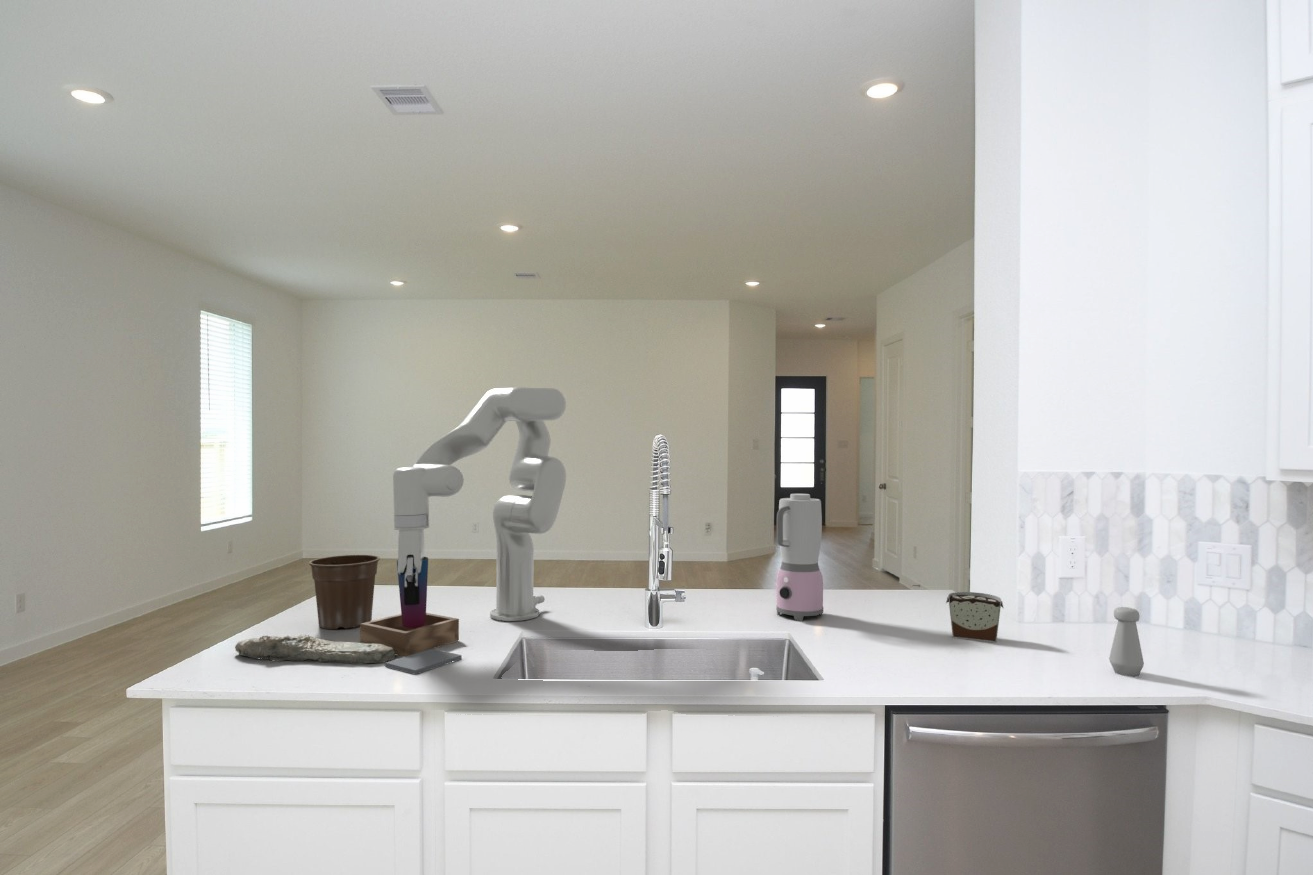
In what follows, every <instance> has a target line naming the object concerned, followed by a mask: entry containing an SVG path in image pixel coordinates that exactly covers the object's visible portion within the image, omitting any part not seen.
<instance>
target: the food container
mask: <svg viewBox="0 0 1313 875" xmlns="http://www.w3.org/2000/svg"><path fill="white" fill-rule="evenodd" d="M945 604H948V606H949V607H948V608H949V614H950V615H949V616H950V625H951V634H952V638H953V637H954V639H962V638H963V640H972V641H979V642H980V641H981V642H990V643H997V640H998V633H999V632H998V631H999V622H1000V617H1001V616H1000V615H1001V608H1002V609H1005V608H1004V604H1003V600H1002V598H1001V597H1000V596H997V595H993V594H991V593H989V594H988V593H984V592H983V593H982V592H975V591H974V592H973V591H972V592H971V591H954V592H951V593H948V596H947V597H946V602H945Z"/></svg>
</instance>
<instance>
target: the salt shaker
mask: <svg viewBox="0 0 1313 875" xmlns="http://www.w3.org/2000/svg"><path fill="white" fill-rule="evenodd" d="M1113 617H1114V619H1115V620H1117V625H1116V627H1115V632H1114V637H1113V641H1112V645H1111V649H1110V654H1109V657H1108V659H1109V663H1110V664H1111V666H1112V668H1113V672H1114V673H1115V674H1118V675H1121V676H1124V677H1133V678H1134V677H1137V676H1139V675H1140V673H1141V671H1142V670H1143V668H1144V665H1145V663H1144V658H1143V657H1144V656H1143V652H1142V647H1141V641H1140V638H1139V631H1138V627H1137V622H1139V620H1140V617H1141V616H1140V613H1139V611H1138V610H1137V609H1135V608H1132V607H1126V606H1119V607H1116V608H1114V610H1113Z"/></svg>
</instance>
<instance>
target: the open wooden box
mask: <svg viewBox="0 0 1313 875" xmlns="http://www.w3.org/2000/svg"><path fill="white" fill-rule="evenodd" d="M459 630H460V619H459V618H456V617H451V616H445V615H441V614H437V613H436V614H434V613H429V612H426V624H425V625H424V626H421V627H416V628H405V627H403V626H402V615H401V613H400V614H399V613H398V614H395V615H391V616H387V617H383V618H379V619H374V620H371V621H369V622H365V623H361V624H360V627H359V643H367V644H372V643H373V644H383V645H385V646H388V647H392V648H393V649H394V652H395V653H394V654H396V655H395V656H398V657H399V656H400V657H406V656H409V655H412V654H416V653H419V652H422V651H425V650H429V649H437V648H440V647H442V645H443V646H445V645H446V646H447V645H449V644H451V643H452V642H453V643H456V642H459V641H460V640H459V636H460V635H459V634H460V631H459ZM458 640H459V641H458ZM453 643H452V644H453Z"/></svg>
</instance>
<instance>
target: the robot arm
mask: <svg viewBox="0 0 1313 875" xmlns="http://www.w3.org/2000/svg"><path fill="white" fill-rule="evenodd" d="M566 403H567V402H566V399H565V396H564V394H563V393H562V391H560V390H559V389H556V388H555V387H522V386H521V387H520V386H514V387H510V386H509V387H496V388H492V389H490V390H488V391H487V392H485V394H483V395H482V397H481V398H480V399H479V401H477V403H476V404H475V405H474V407H473V408H472V409H471V410H470V411H469V413H468V414H467V416H465V417H464V419H463V420H461V423H460V424H459V425H458V426H457V427H456V428H454V429H452V430H450V431H449V432H448V433H446V434H445V435H443V436H442V437H440V438H439V439H438V440H436V441H434V442H433V443H432V444H430V445H429V446H428V447H427V448H426V449H425V450H424V451H423V452H422V453H421V454H420V456H419V457H418V458H417V459H416V460H415V462H414V463H413V464H412V466H406V467H404V466H403V467H398V468H396V469H395V470H394V471H393V474H392V476H393V477H392V482H393V484H392V486H393V487H392V488H393V489H392V490H393V527H394V528H393V530H395V531H398V537H397V538H398V539H397V540H398V541H397V559H398V570H397V575H398V574H400V575H401V574H402V573H403V572H404V569H405V587H404V604H405V605H417V604H419V603H420V594H419V586H418V574H419V573H420V572H421V568H422V560H424V557H425V530H426V529H428V528H430V507H429V506H430V503H429V502H430V501H429V499H430V497H441V498H445V497H446V498H448V497H451V496H454V495H456V494H459V492H460V491H461V489H462V488H463V486H464V480H465V479H464V475H463V472H461V470H460V469H459V468H458V467H456V466H454V465H453V464H454V463H456V462H457V461H460V460H462V459H464V458H467V457H470V456H472V455H475V454H477V453H479V452H482V451H483V450H485V449H486V448H488V446H489V445H490V444H491V442H492V441H493V440H494V438H495V437H496V436H497V434H498V433H499V432H500V430H501V429H502V428H503V426H504V425H505V424H506V423H507V422H515V423H516V426H517V428H518V440H517V445H516V449H515V453H514V456H513V460H512V463H511V467H510V470H509V476H508V477H509V478H508V480H509V483H510V486H512V488H514V489H515V490H518V491H520V492H529V493H532V495H526V494H506V495H504V496H502V497H500V498H498V500H497V501H496V502H495V504H494V505H493V506H494V507H493V511H492V520H493V524H494V529H495V540H496V596H495V598H496V600H495V601H496V604H495V607H496V608H495V609H493V610H492V609H491V611H490V613H489V616H490V618H491V619H493V620H496V621H501V620H502V622H503V621H505V622H518V621H520V622H521V621H526V620H532V619H535V618H537V617H539V615H540V610H539V608H537V607H536V606H537V605H538V604H542V603H544V602H545V600H546V599H545V597H544V595H542V594H541V595H538V596H536V595H534V572H535V571H534V562H535V561H534V560H535V559H534V558H535V556H534V549H535V548H534V542H533V539H532V536H531V534H538V535H540V534H541V535H542V534H545V533H547V532H549V531H550V530H551V529H552V528H553V527H554V525H555V522H556V520H557V516H558V514H559V510H560V506H561V502H562V499H563V495H564V490H565V486H566V481H567V473H566V468H565V465H564V463H563V462H562V461H561V460H560V459H559V458H558V457H555V456H550V455H549V452H550V448H551V435H550V432H549V429H548V427H547V425H546V423H545V421H556V420H558V419H560V418H561V417H562V415H564V413H565V411H566V408H567V404H566ZM413 563H414V567H413ZM406 565H407V567H406ZM413 569H416V572H413ZM414 576H415V577H414Z"/></svg>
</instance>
